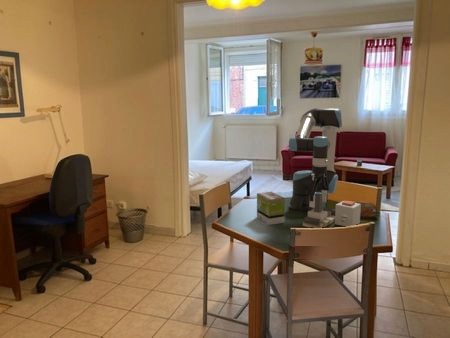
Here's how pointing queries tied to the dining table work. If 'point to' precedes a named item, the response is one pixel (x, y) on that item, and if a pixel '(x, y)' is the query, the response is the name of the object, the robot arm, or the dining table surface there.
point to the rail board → (323, 223)
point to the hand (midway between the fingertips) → (317, 204)
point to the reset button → (348, 203)
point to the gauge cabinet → (347, 214)
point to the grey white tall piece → (318, 208)
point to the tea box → (270, 207)
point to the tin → (367, 209)
